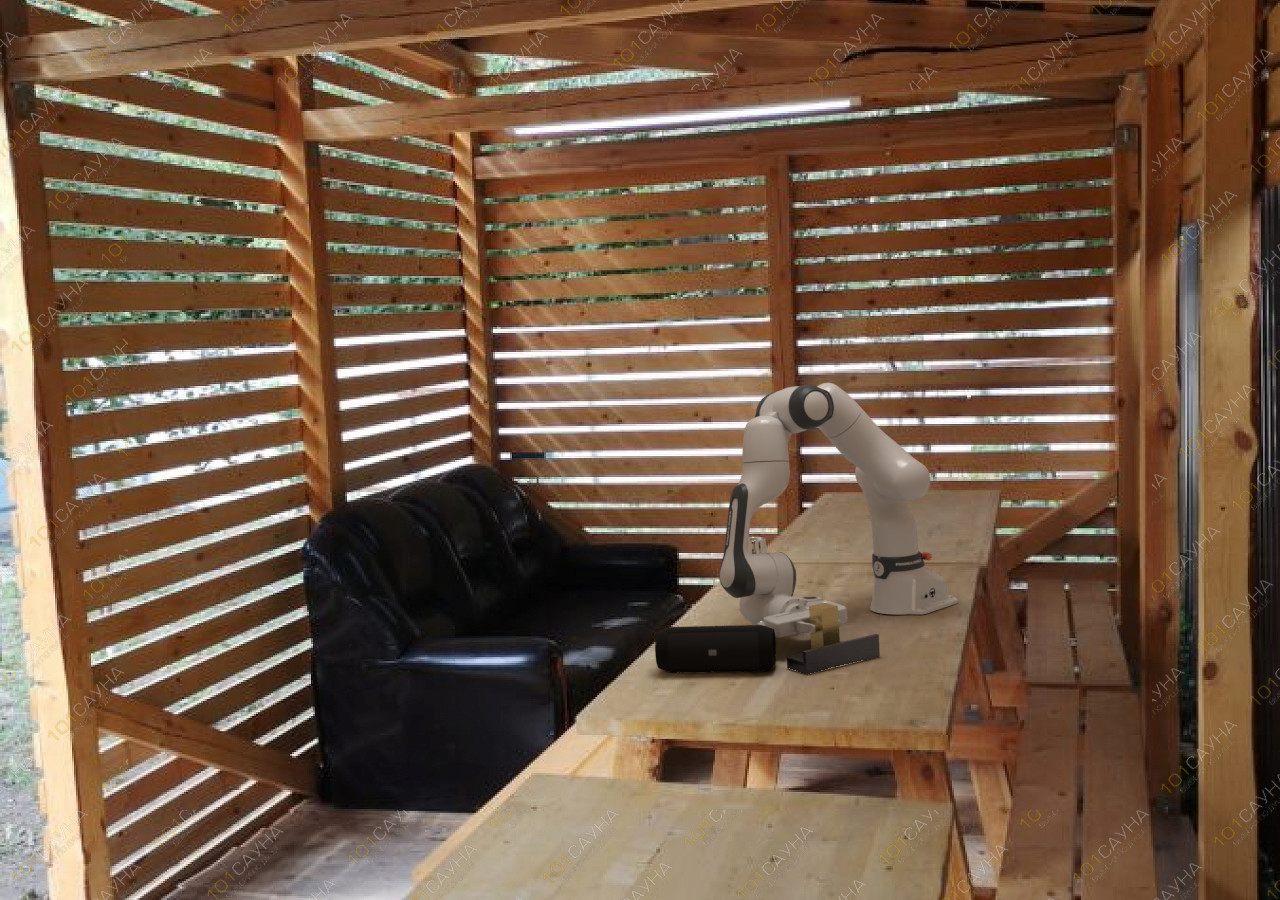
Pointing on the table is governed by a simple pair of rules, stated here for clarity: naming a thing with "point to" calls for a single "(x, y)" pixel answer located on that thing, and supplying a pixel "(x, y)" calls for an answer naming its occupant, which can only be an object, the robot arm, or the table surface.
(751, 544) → the beer glass
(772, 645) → the portable speaker
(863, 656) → the rail
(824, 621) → the wooden block
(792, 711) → the table surface
